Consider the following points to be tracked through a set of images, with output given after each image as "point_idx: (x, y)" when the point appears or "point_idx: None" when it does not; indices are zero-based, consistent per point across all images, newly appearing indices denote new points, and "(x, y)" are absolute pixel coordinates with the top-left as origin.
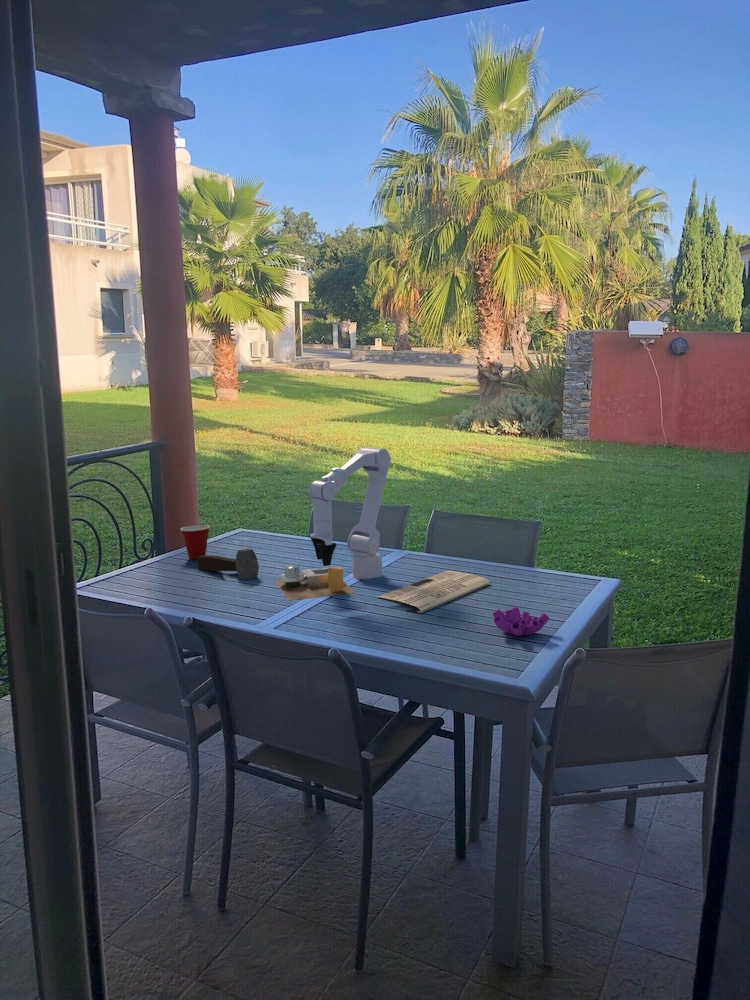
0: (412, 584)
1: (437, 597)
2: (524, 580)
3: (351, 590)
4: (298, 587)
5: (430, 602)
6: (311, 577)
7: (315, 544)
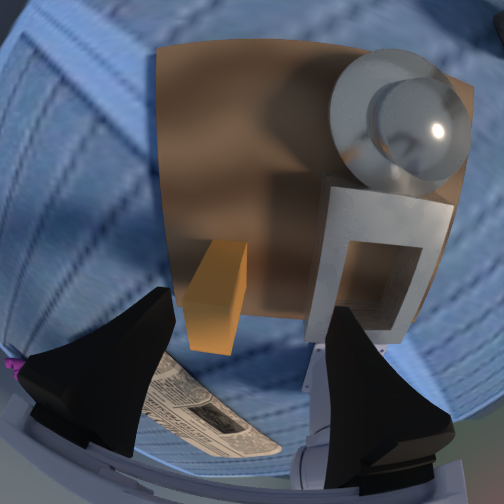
0: (207, 410)
1: None
2: (214, 462)
3: None
4: None
5: None
6: (327, 206)
7: (364, 402)
